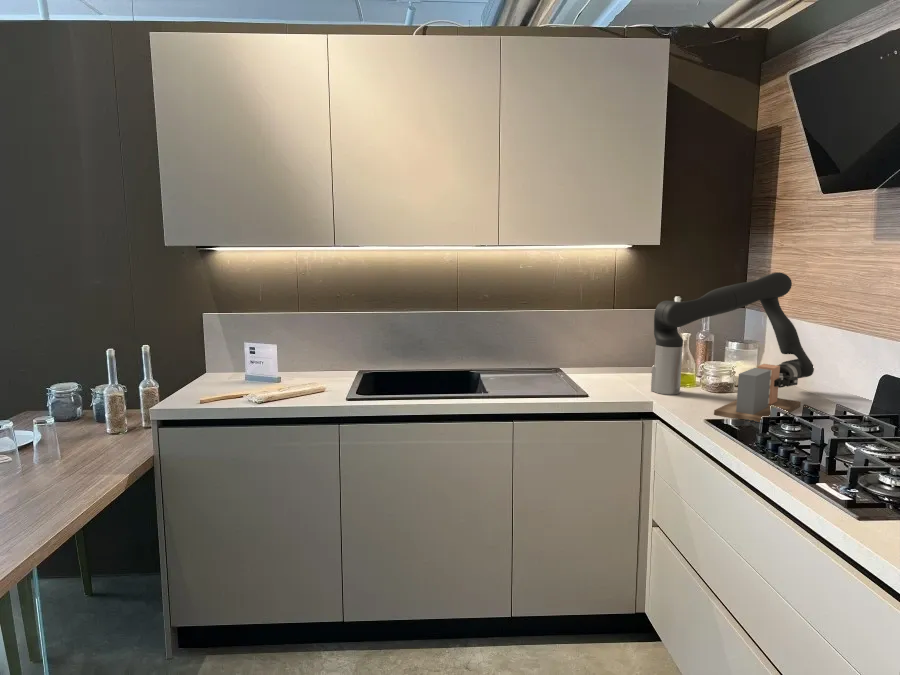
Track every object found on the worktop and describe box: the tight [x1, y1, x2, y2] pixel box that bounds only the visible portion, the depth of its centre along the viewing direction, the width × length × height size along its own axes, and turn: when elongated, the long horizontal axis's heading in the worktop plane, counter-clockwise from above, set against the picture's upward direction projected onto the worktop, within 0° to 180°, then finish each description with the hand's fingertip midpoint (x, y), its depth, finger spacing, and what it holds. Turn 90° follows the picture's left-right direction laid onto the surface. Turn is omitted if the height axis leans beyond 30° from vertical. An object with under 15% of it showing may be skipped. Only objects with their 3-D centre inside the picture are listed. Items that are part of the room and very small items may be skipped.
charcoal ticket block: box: [736, 367, 772, 415], centre depth 194 cm, size 5×14×12 cm, turn 136°
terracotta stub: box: [757, 363, 780, 404], centre depth 204 cm, size 5×6×12 cm
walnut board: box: [713, 397, 802, 422], centre depth 200 cm, size 16×32×2 cm, turn 136°
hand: (766, 382), depth 202 cm, fingers closed on terracotta stub, 5 cm apart
